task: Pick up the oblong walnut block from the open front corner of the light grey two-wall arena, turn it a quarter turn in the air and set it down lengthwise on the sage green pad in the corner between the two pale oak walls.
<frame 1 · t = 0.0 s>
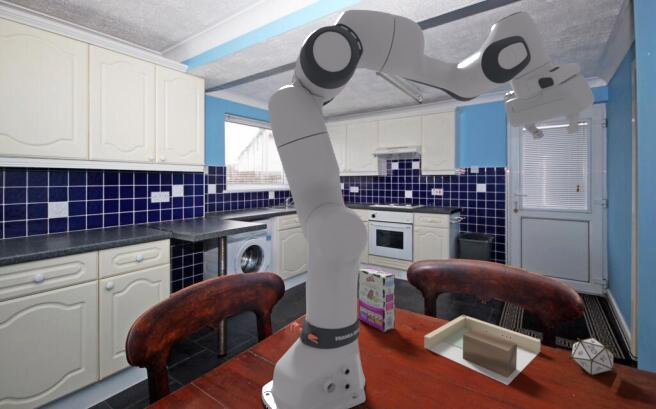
hand: (555, 135, 76), 54 cm above the table, tool tilted 30°, fingers open, 8 cm apart
arena: (481, 352, 80), on the table
game die: (591, 373, 71), on the table
walnut block: (488, 363, 74), point 1 cm above the table, touching arena
candy bar box: (376, 324, 97), on the table
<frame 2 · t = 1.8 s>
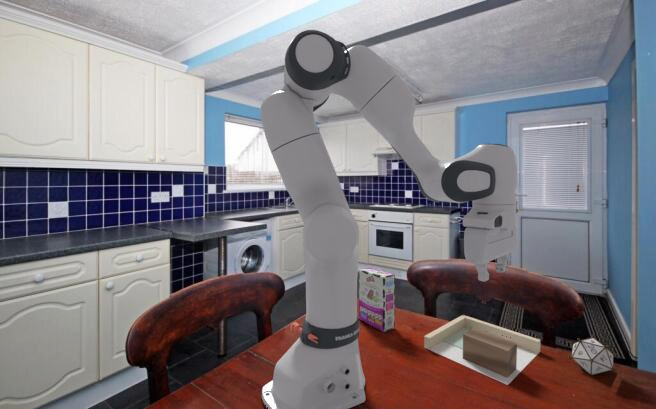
hand: (492, 276, 72), 22 cm above the table, tool pointing down, fingers open, 8 cm apart
nothing on the table moved.
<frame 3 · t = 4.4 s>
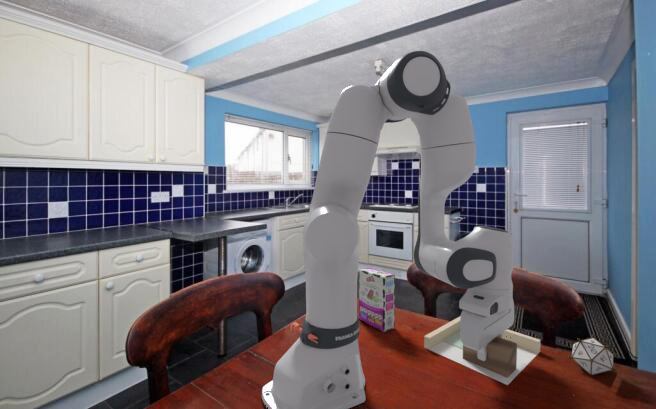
hand: (489, 354, 73), 3 cm above the table, tool pointing down, fingers closed on walnut block, 5 cm apart
walnut block: (488, 363, 74), point 1 cm above the table, touching arena, gripper
everything else where it was.
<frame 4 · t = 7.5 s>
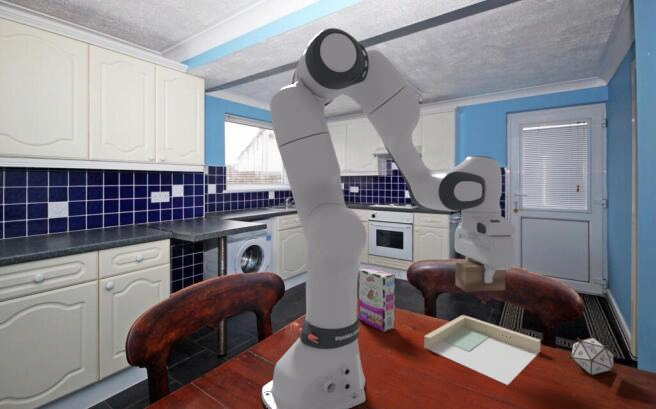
hand: (479, 278, 78), 19 cm above the table, tool pointing down, fingers closed on walnut block, 5 cm apart
walnut block: (479, 287, 78), point 17 cm above the table, touching gripper
everything else where it was.
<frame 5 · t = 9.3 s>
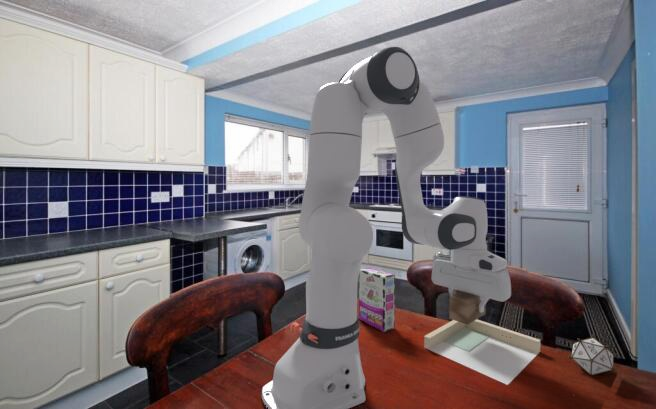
hand: (467, 307, 85), 9 cm above the table, tool pointing down, fingers closed on walnut block, 5 cm apart
walnut block: (467, 316, 85), point 7 cm above the table, touching gripper
everything else where it was.
when the fingers open (5 cm above the table, at t = 10.5 s): walnut block drops 2 cm, resting on arena.
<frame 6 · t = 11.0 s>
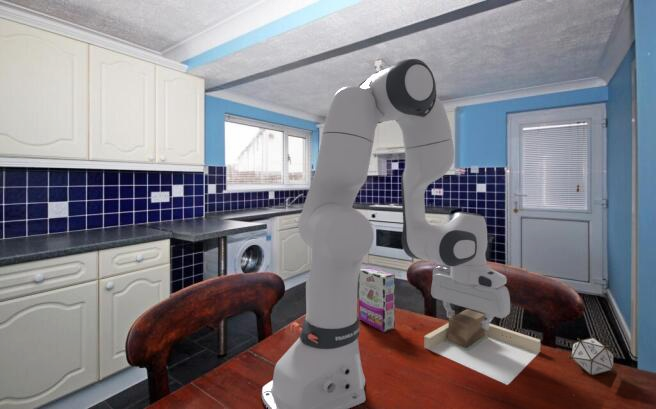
hand: (466, 322, 85), 5 cm above the table, tool pointing down, fingers open, 8 cm apart
walnut block: (466, 338, 85), point 1 cm above the table, touching arena
everything else where it was.
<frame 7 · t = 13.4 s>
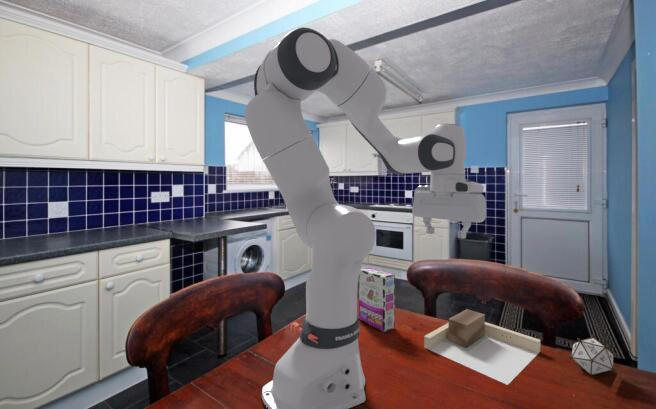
hand: (445, 235, 87), 29 cm above the table, tool pointing down, fingers open, 8 cm apart
nothing on the table moved.
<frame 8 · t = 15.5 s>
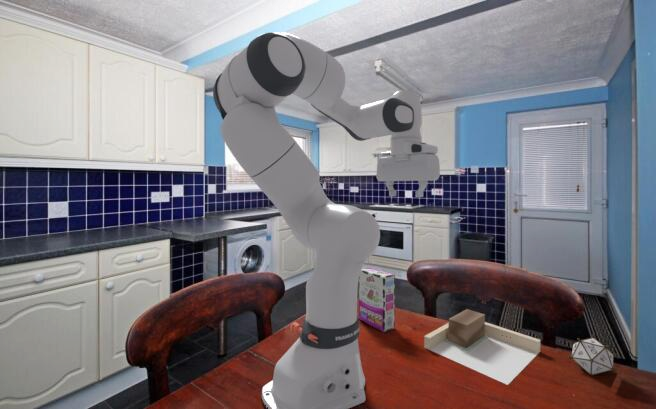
hand: (405, 196, 93), 39 cm above the table, tool pointing down, fingers open, 8 cm apart
nothing on the table moved.
at the end: walnut block 0.5 cm from the target spot on the arena, point 1.0 cm above the arena's base; walnut block tilted 0°; the gripper is holding nothing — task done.
